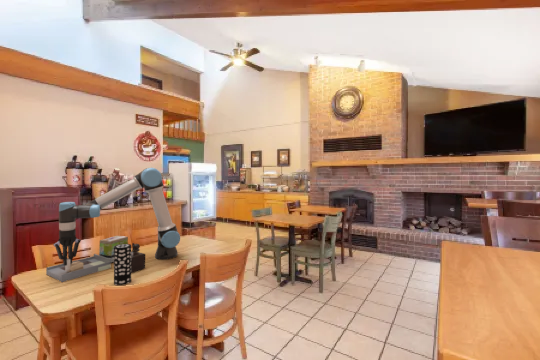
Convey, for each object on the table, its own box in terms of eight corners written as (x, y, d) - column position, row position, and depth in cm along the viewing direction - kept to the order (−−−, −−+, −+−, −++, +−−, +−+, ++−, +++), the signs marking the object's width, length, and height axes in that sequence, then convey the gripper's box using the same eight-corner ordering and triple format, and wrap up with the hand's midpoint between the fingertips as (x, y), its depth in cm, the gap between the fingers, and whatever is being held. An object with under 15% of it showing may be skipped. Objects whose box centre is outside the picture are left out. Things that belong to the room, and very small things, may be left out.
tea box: (111, 263, 175) (111, 241, 175) (98, 262, 177) (98, 240, 177) (128, 256, 190) (128, 235, 190) (116, 255, 192) (116, 235, 192)
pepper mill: (118, 270, 163) (118, 241, 162) (135, 265, 173) (135, 237, 172) (135, 275, 156) (135, 245, 155) (151, 269, 165) (151, 240, 165)
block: (83, 269, 157) (83, 263, 157) (71, 273, 152) (71, 266, 152) (78, 267, 160) (78, 261, 160) (66, 270, 155) (66, 264, 155)
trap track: (110, 267, 167) (110, 259, 167) (61, 282, 145) (61, 272, 145) (94, 261, 178) (94, 253, 178) (46, 274, 156) (46, 265, 155)
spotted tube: (110, 283, 144) (110, 247, 143) (123, 278, 152) (123, 243, 151) (121, 286, 141) (121, 248, 141) (134, 280, 149) (134, 244, 148)
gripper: (77, 226, 159) (77, 265, 160) (50, 230, 148) (51, 272, 149) (83, 228, 155) (83, 268, 156) (56, 232, 144) (57, 275, 145)
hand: (67, 270), depth 153 cm, fingers closed
